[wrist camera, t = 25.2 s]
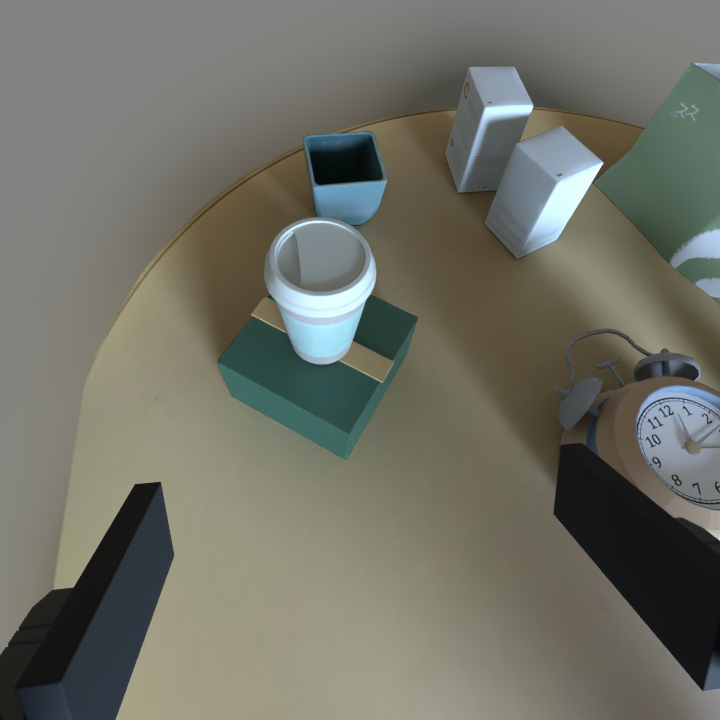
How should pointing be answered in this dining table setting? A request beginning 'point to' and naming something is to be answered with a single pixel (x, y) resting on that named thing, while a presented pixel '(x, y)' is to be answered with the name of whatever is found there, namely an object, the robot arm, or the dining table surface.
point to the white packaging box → (541, 190)
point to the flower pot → (345, 175)
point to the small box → (487, 127)
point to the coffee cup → (320, 285)
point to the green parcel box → (318, 373)
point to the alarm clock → (653, 431)
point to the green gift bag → (677, 178)
